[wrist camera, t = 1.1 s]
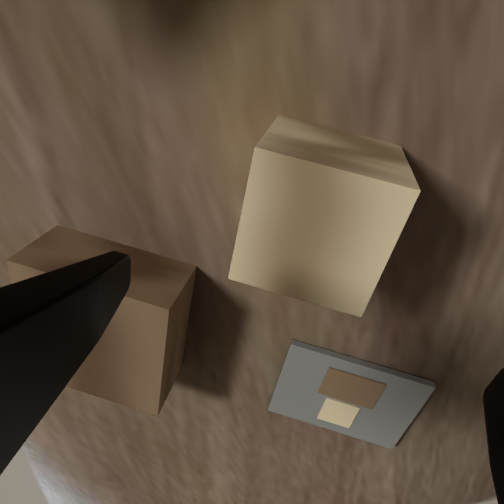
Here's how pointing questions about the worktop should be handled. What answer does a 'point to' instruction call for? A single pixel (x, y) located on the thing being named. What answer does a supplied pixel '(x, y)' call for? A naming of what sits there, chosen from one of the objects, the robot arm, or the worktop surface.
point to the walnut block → (124, 318)
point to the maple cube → (321, 214)
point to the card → (348, 394)
